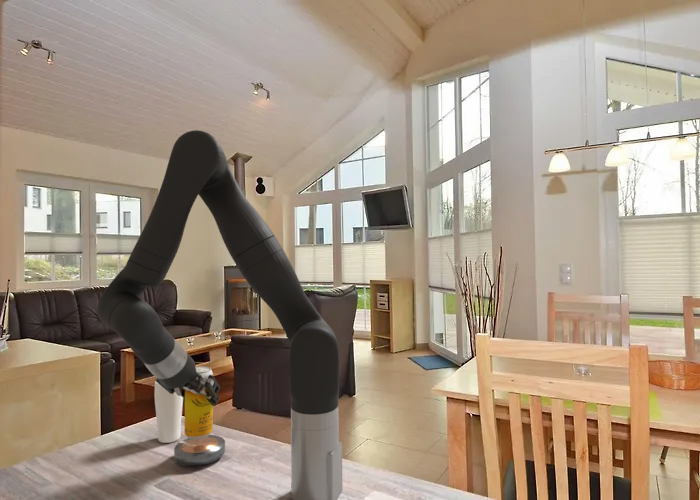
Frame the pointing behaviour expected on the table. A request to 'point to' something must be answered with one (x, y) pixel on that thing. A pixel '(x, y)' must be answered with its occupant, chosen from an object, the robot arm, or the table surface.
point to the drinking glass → (168, 414)
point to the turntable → (199, 450)
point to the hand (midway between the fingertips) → (203, 400)
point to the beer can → (198, 411)
